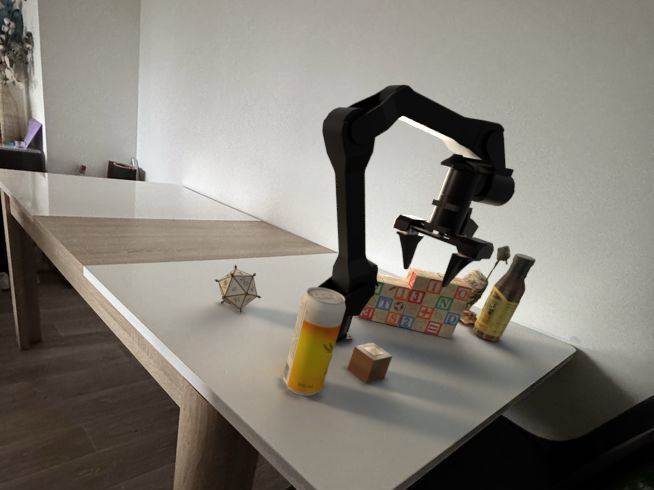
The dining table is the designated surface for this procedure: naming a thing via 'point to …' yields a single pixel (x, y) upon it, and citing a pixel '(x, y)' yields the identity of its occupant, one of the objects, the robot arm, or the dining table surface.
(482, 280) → the plant with pod
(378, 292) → the stack of blocks
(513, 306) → the sauce bottle
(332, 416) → the dining table surface
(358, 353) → the wooden cube
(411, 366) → the dining table surface
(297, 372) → the beer can
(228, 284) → the game die
